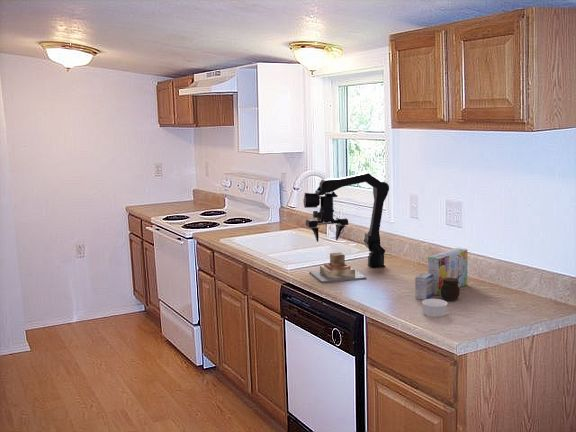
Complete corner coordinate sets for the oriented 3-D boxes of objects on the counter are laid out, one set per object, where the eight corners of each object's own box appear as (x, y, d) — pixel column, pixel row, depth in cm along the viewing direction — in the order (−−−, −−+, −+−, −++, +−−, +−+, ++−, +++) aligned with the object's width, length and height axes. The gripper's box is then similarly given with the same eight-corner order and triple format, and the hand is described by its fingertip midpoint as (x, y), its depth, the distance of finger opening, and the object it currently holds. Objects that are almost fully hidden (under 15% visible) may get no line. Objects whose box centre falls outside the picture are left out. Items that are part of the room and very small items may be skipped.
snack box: (455, 282, 270) (456, 247, 268) (467, 285, 266) (468, 249, 264) (426, 293, 256) (427, 256, 253) (439, 296, 252) (440, 258, 249)
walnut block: (340, 265, 287) (340, 252, 286) (344, 268, 282) (344, 254, 281) (330, 266, 286) (329, 253, 285) (333, 269, 281) (333, 255, 280)
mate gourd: (437, 297, 250) (438, 271, 249) (456, 296, 251) (457, 271, 249) (443, 302, 243) (444, 276, 242) (463, 301, 244) (464, 275, 242)
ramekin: (450, 317, 226) (451, 305, 225) (425, 318, 225) (425, 306, 225) (442, 309, 235) (443, 298, 234) (418, 310, 234) (418, 299, 233)
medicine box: (425, 300, 246) (426, 278, 245) (414, 298, 249) (415, 276, 247) (433, 295, 253) (433, 273, 251) (422, 293, 255) (422, 272, 254)
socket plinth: (345, 269, 292) (345, 260, 291) (355, 276, 280) (355, 266, 279) (320, 272, 289) (319, 262, 288) (328, 278, 277) (328, 269, 276)
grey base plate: (351, 269, 296) (351, 267, 295) (366, 279, 278) (366, 277, 278) (309, 272, 291) (309, 271, 290) (321, 283, 273) (321, 281, 273)
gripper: (340, 203, 303) (340, 236, 306) (301, 205, 298) (302, 239, 301) (348, 206, 292) (348, 240, 295) (309, 209, 288) (309, 243, 290)
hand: (327, 240), depth 295 cm, fingers open, 9 cm apart
